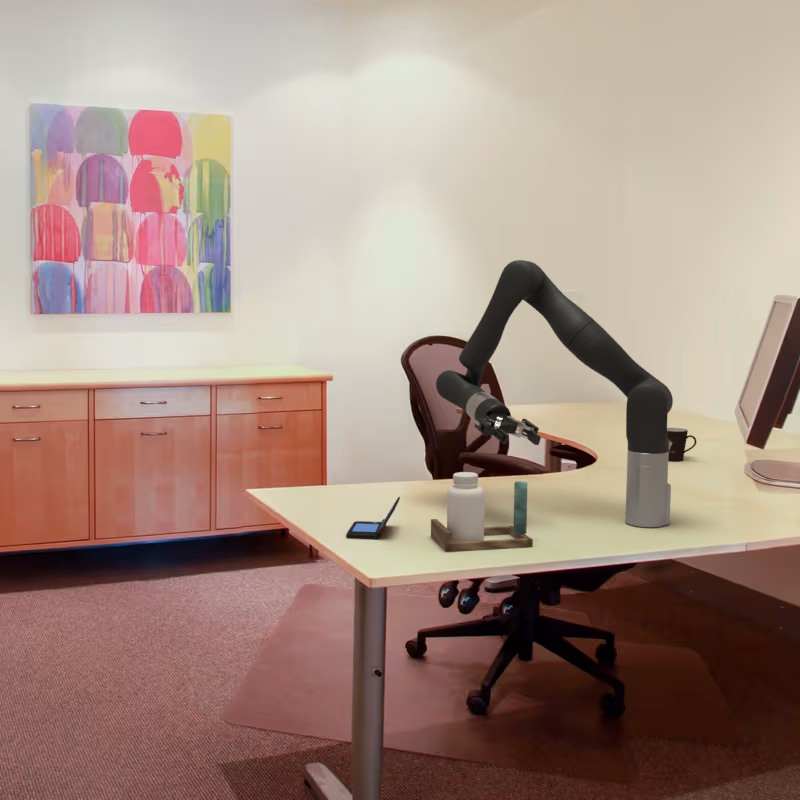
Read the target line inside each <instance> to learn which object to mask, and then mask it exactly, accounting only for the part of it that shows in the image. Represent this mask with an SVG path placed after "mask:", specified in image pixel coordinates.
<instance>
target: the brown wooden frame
mask: <svg viewBox="0 0 800 800" xmlns="http://www.w3.org/2000/svg"><path fill="white" fill-rule="evenodd" d="M513 488H514V490H513V492H514V494H513V495H514V496H513V525H500V526H484V537H486V536H487V537H488V536H502V535H504V536H505V535H510V536H511V537H512V538H508V539H505V538H504V539H494V540H493V539H492V540H491V539H489V540H487V539H486V540H484V541H469V542H452V532H451V531H449V530H448V529H447V526H445V525H444V524H442V522H441V521H439V519H437V518H433V519H432V518H431V519H430V538H431V539H432V540H433V541H434V542H435V543H437V545H438V546H439V547H441V549H443V551H445V553H450V552H467V551H468V552H469V551H483V550H484V551H485V550H501V549H505V550H506V549H518V548H533V547H534V546H533V543H534V542H533V541H534V540H533V538H531V537H530V536H529V535H527V530H528V528H527V527H528V524H527V523H528V522H527V521H528V519H527V518H528V482H527V481H514V487H513Z"/></svg>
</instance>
